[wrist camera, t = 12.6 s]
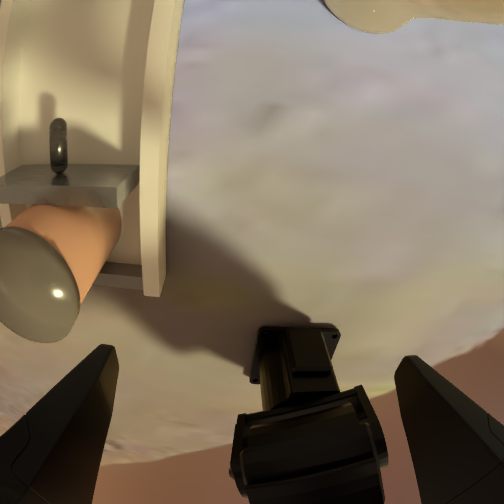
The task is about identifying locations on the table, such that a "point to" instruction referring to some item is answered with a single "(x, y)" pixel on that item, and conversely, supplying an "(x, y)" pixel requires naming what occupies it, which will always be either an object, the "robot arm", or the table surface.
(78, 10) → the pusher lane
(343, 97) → the table surface
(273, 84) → the table surface
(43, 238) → the terracotta jar
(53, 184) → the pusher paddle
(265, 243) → the table surface
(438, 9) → the beer glass
